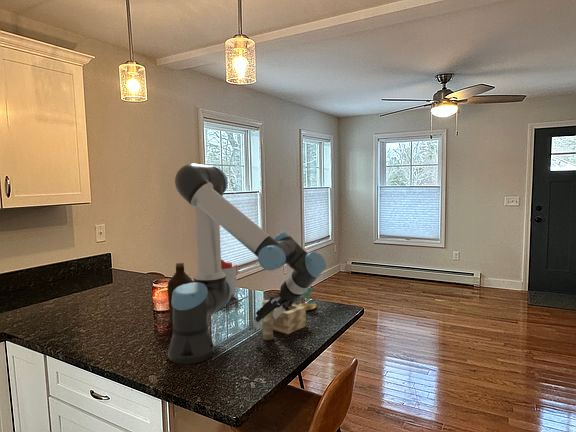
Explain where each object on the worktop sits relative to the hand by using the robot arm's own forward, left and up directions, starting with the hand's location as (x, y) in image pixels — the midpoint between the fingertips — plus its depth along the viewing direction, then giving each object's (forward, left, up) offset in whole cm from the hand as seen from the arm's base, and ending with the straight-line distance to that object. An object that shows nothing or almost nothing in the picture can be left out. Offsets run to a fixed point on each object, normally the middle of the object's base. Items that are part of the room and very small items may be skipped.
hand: (264, 320), depth 147 cm
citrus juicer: (+22, +51, -6) cm, 56 cm away
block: (+12, -1, -6) cm, 13 cm away
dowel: (-1, -3, -6) cm, 7 cm away
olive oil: (-12, +37, -6) cm, 40 cm away
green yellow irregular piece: (+34, +8, -6) cm, 36 cm away
